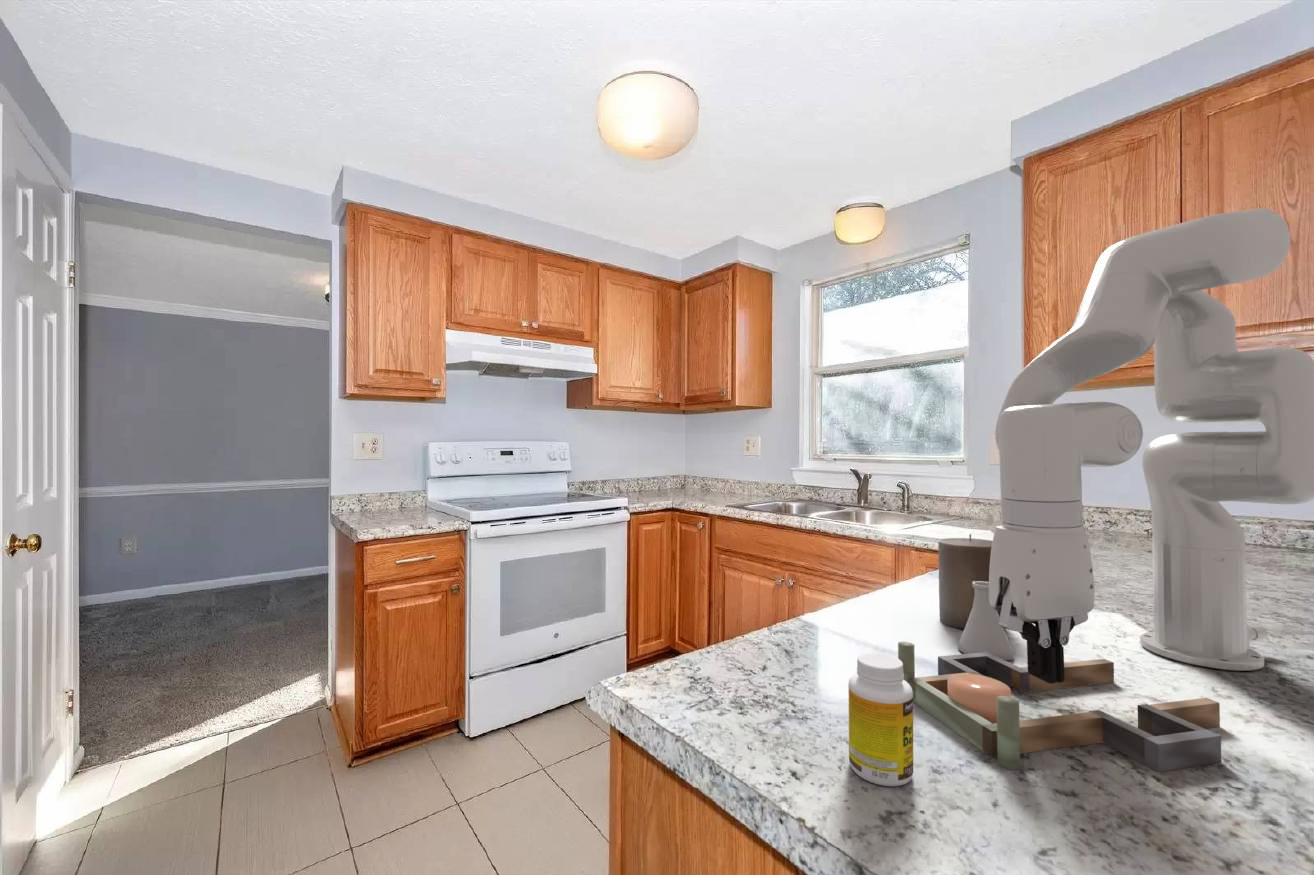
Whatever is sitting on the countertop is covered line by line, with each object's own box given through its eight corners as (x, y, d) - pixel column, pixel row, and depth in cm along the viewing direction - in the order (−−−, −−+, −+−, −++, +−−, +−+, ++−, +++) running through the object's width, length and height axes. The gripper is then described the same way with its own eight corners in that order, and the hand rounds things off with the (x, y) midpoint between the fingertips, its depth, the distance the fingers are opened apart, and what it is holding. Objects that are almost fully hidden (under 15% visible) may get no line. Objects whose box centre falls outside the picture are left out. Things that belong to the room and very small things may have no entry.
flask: (1024, 664, 76) (1023, 591, 76) (966, 660, 77) (965, 588, 78) (1002, 646, 83) (1002, 578, 83) (950, 642, 85) (949, 576, 85)
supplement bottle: (913, 796, 48) (912, 676, 48) (845, 780, 50) (844, 665, 50) (914, 763, 53) (913, 654, 53) (852, 749, 55) (851, 645, 55)
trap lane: (1067, 663, 76) (1066, 619, 76) (1283, 752, 54) (1282, 690, 54) (880, 681, 71) (880, 634, 71) (1036, 790, 48) (1035, 721, 48)
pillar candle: (1018, 632, 89) (1016, 538, 89) (956, 632, 89) (955, 538, 89) (983, 615, 98) (982, 530, 99) (928, 614, 98) (926, 529, 99)
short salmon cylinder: (981, 706, 64) (981, 671, 64) (1025, 732, 58) (1025, 694, 58) (935, 711, 63) (935, 676, 63) (975, 739, 57) (975, 699, 57)
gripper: (1065, 507, 68) (1070, 658, 68) (958, 514, 65) (963, 672, 65) (1128, 515, 60) (1134, 684, 60) (1011, 523, 57) (1017, 702, 57)
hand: (1045, 677), depth 62 cm, fingers closed
